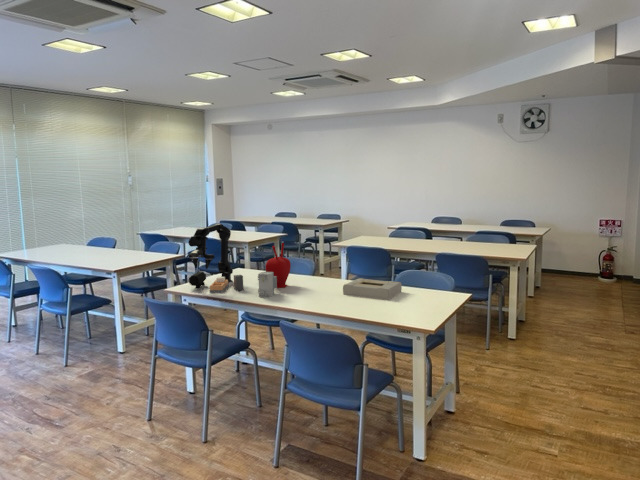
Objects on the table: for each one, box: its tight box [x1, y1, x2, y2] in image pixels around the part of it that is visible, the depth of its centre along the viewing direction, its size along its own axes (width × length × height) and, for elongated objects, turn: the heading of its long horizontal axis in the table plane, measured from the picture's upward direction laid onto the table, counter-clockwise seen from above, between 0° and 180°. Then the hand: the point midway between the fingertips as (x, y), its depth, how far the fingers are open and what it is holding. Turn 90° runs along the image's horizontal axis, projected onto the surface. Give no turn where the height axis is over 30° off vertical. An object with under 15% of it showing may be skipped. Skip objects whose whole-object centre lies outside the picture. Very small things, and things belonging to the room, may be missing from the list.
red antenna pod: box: [264, 242, 292, 289], centre depth 326 cm, size 21×13×30 cm, turn 160°
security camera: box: [188, 271, 207, 289], centre depth 329 cm, size 7×18×10 cm, turn 174°
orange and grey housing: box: [209, 276, 230, 294], centre depth 323 cm, size 21×9×7 cm, turn 0°
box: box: [342, 277, 403, 301], centre depth 303 cm, size 23×8×32 cm
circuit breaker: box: [257, 271, 278, 298], centre depth 304 cm, size 8×14×15 cm, turn 161°
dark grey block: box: [233, 274, 244, 292], centre depth 319 cm, size 5×5×10 cm
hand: (201, 268), depth 321 cm, fingers open, 9 cm apart
